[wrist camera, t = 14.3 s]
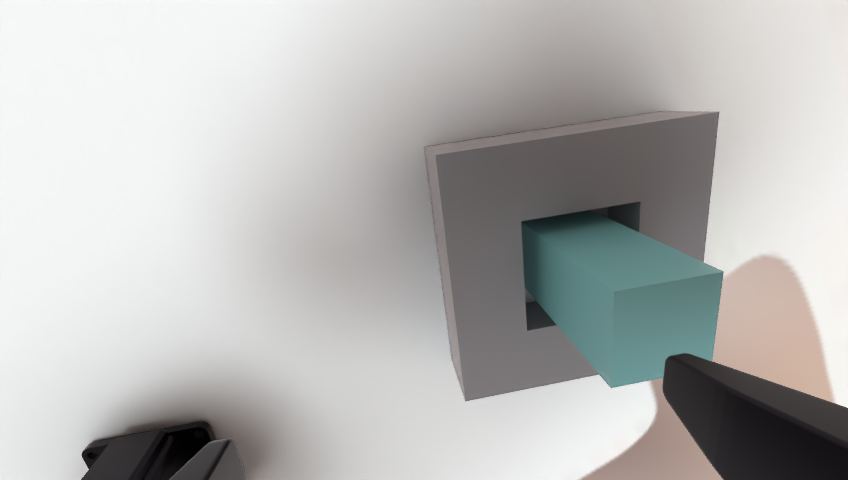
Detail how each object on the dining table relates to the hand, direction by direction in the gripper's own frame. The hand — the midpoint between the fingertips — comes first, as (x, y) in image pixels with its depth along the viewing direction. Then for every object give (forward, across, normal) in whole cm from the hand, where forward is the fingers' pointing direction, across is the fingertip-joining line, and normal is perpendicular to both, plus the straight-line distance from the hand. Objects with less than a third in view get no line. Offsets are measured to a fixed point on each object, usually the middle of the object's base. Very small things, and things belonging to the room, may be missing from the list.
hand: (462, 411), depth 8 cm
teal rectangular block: (+12, -8, +2) cm, 14 cm away
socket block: (+13, -8, +2) cm, 15 cm away
